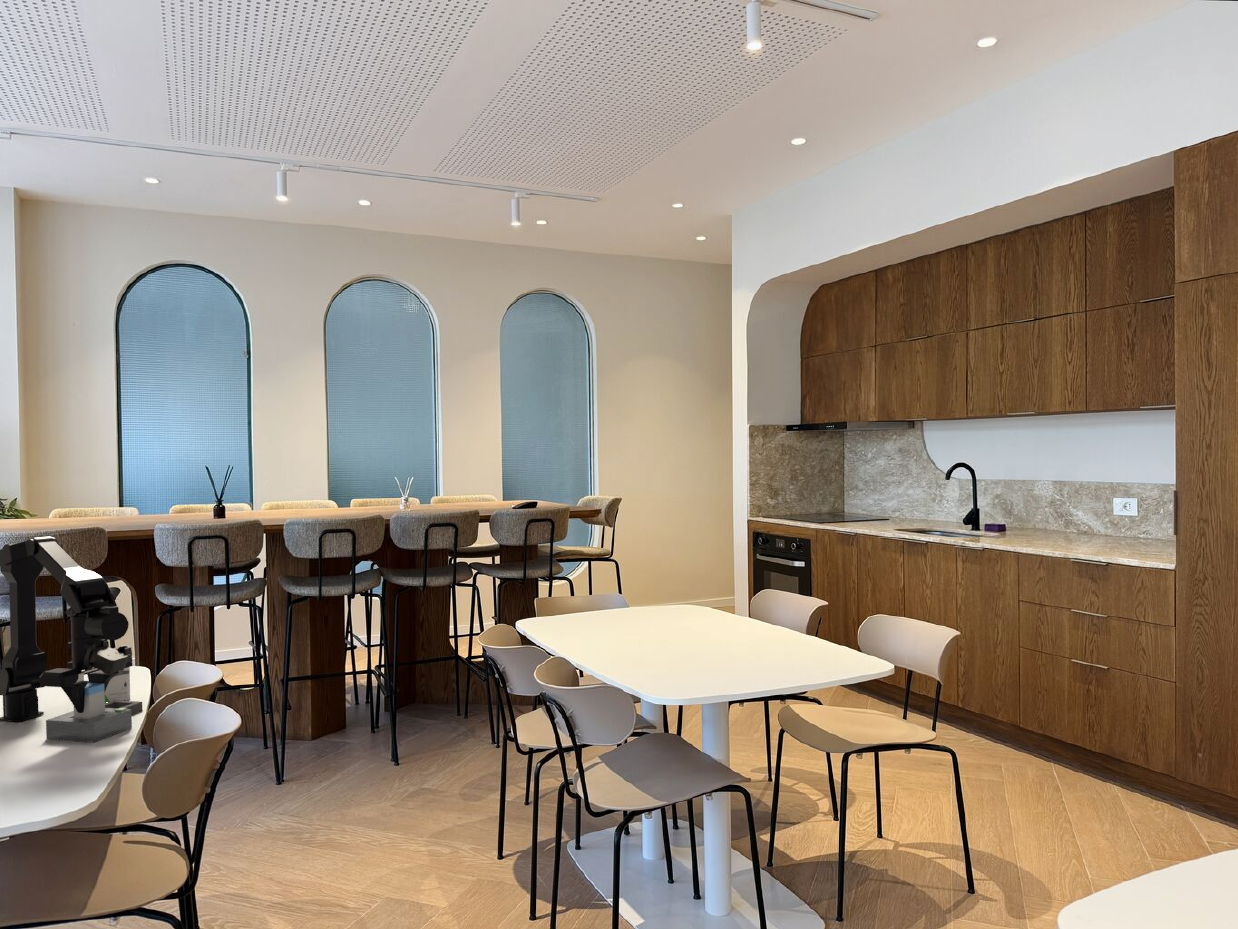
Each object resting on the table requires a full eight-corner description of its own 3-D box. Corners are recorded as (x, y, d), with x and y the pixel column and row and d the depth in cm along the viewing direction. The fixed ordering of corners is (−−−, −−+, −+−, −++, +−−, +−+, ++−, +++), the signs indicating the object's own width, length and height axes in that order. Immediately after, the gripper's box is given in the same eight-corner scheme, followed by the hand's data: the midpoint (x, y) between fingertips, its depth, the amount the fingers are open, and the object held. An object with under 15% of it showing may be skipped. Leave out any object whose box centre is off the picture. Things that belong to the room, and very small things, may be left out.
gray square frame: (86, 718, 200) (86, 709, 200) (114, 708, 208) (114, 700, 208) (115, 720, 198) (115, 711, 198) (142, 710, 206) (142, 701, 206)
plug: (74, 725, 187) (73, 687, 187) (89, 720, 191) (88, 682, 191) (89, 726, 186) (88, 688, 186) (105, 720, 190) (104, 683, 190)
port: (46, 739, 185) (45, 718, 185) (86, 725, 195) (85, 705, 195) (94, 742, 182) (93, 721, 182) (131, 727, 192) (131, 707, 192)
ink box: (89, 706, 211) (88, 656, 211) (88, 701, 215) (87, 652, 215) (131, 699, 215) (129, 651, 215) (129, 695, 220) (127, 647, 220)
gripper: (81, 647, 178) (84, 725, 178) (152, 628, 196) (154, 699, 196) (36, 645, 180) (38, 722, 180) (110, 627, 198) (112, 697, 199)
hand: (89, 709), depth 189 cm, fingers closed on plug, 4 cm apart
